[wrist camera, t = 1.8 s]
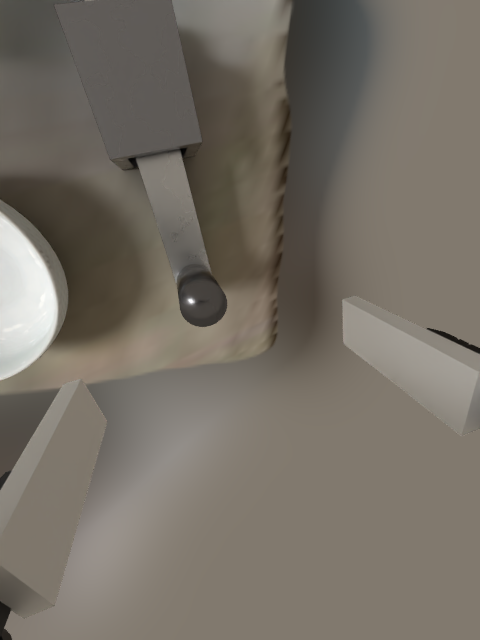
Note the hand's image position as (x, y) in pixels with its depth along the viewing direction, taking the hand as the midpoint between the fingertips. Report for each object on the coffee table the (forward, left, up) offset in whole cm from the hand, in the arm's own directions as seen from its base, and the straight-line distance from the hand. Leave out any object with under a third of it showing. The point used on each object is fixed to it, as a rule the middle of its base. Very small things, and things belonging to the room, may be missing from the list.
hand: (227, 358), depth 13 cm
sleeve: (0, +15, -19) cm, 24 cm away
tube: (0, +10, -18) cm, 21 cm away
